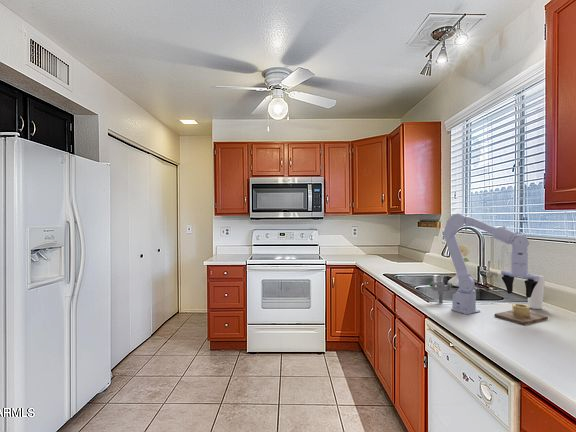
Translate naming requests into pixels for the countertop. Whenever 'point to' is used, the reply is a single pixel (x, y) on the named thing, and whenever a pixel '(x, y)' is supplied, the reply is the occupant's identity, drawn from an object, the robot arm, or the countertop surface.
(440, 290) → the mechanical component
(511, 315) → the hub board
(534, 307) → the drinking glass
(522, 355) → the countertop surface
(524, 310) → the brass collar
